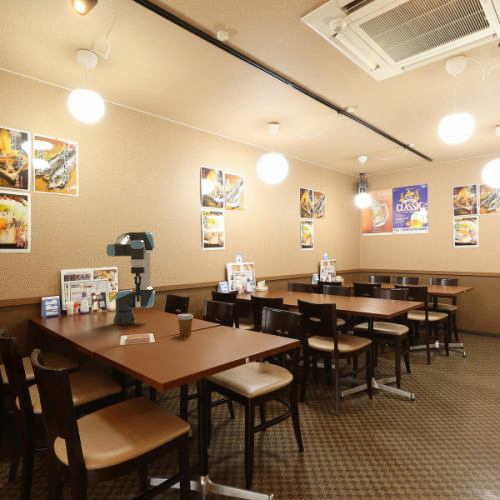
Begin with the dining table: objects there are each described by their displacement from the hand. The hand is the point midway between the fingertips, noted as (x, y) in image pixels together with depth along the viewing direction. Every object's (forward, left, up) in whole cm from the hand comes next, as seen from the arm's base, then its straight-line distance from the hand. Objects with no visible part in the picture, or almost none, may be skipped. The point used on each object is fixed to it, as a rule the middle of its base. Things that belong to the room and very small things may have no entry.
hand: (138, 306), depth 205 cm
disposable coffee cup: (+11, +25, -18) cm, 33 cm away
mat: (+5, -2, -18) cm, 19 cm away
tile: (+3, -1, -16) cm, 17 cm away
